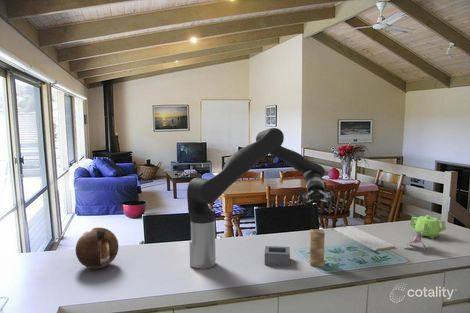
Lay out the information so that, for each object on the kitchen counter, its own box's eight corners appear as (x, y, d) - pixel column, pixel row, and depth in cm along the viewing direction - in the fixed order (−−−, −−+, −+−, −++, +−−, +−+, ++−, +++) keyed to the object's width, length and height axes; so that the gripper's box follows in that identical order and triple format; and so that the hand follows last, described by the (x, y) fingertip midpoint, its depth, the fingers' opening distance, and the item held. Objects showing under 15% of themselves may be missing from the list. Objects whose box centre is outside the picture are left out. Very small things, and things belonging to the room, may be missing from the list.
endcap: (264, 264, 136) (264, 253, 136) (265, 257, 144) (265, 245, 144) (289, 266, 135) (289, 254, 134) (289, 258, 143) (289, 246, 142)
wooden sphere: (77, 262, 139) (75, 225, 138) (118, 257, 145) (116, 221, 143) (75, 278, 125) (73, 236, 124) (120, 271, 131) (118, 231, 129)
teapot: (408, 232, 174) (408, 213, 173) (428, 231, 176) (429, 211, 175) (425, 240, 162) (426, 219, 162) (447, 239, 165) (448, 218, 164)
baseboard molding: (371, 252, 150) (395, 249, 153) (371, 246, 150) (395, 243, 153) (330, 231, 179) (351, 228, 183) (330, 225, 179) (351, 223, 183)
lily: (422, 245, 159) (411, 226, 160) (444, 243, 148) (432, 222, 150) (404, 258, 154) (393, 238, 156) (425, 257, 143) (413, 235, 145)
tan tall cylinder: (310, 265, 135) (310, 232, 134) (309, 262, 139) (310, 229, 137) (323, 266, 135) (324, 232, 133) (322, 262, 138) (323, 229, 137)
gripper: (298, 180, 158) (298, 196, 143) (332, 179, 155) (335, 195, 140) (299, 196, 160) (299, 213, 145) (332, 195, 157) (336, 212, 142)
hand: (317, 204), depth 142 cm, fingers open, 8 cm apart
